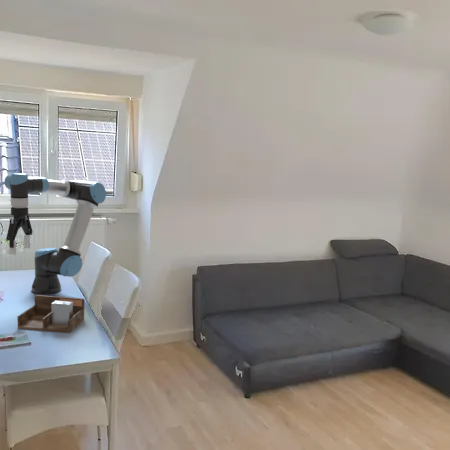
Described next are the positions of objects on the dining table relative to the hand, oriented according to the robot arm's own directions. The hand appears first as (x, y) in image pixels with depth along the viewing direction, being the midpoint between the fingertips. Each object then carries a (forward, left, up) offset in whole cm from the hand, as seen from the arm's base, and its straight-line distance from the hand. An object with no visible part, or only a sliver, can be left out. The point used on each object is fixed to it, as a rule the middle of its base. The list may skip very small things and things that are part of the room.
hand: (20, 251), depth 232 cm
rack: (+15, +22, -29) cm, 39 cm away
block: (+16, +28, -28) cm, 42 cm away
